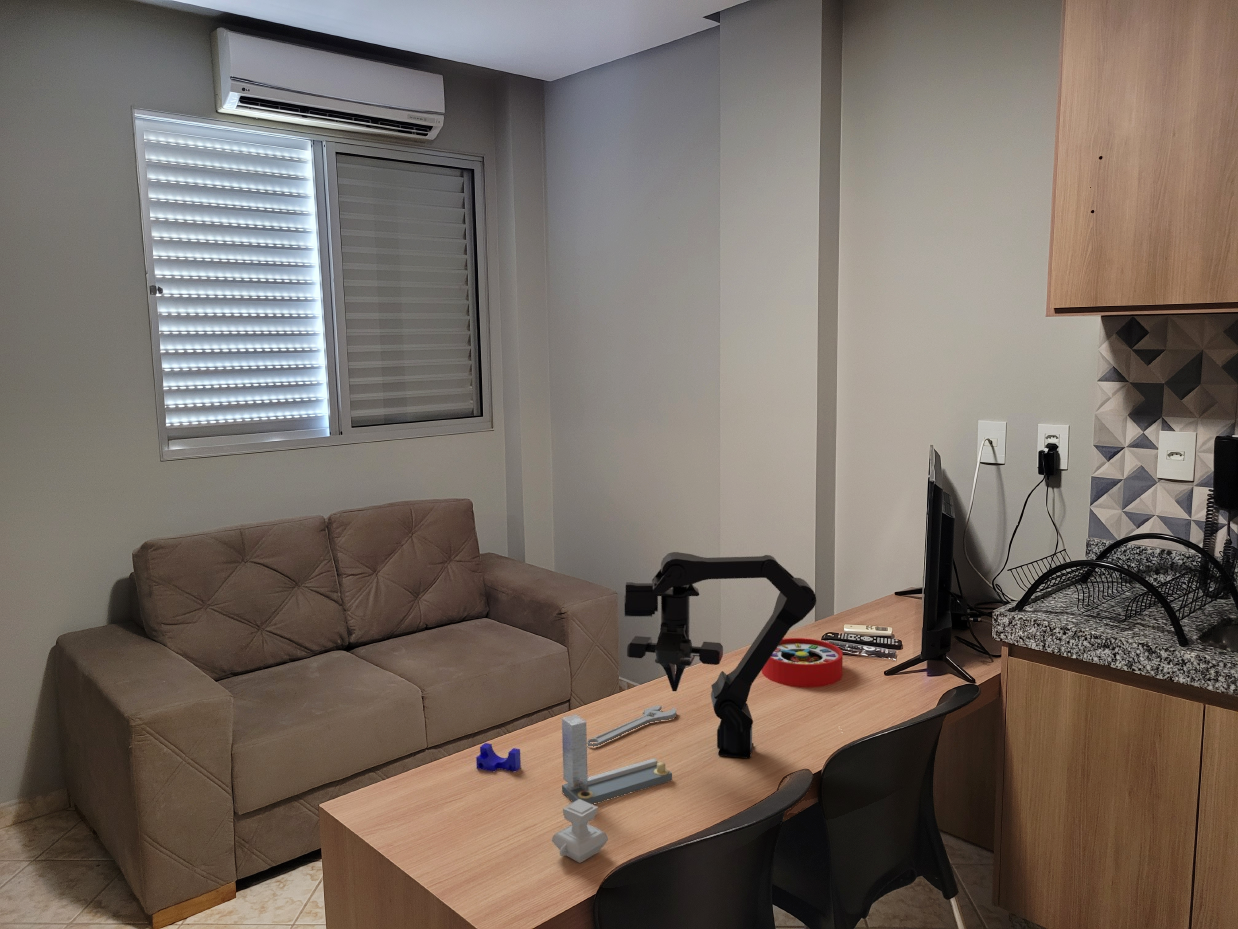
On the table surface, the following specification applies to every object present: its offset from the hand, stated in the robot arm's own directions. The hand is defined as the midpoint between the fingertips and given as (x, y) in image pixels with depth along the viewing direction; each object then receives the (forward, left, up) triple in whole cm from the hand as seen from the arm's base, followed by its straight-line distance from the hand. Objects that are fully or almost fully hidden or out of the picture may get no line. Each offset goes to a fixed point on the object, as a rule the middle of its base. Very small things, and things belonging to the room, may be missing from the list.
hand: (674, 690), depth 181 cm
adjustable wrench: (+12, -9, -14) cm, 20 cm away
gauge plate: (+8, +17, -13) cm, 23 cm away
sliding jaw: (+14, +22, -11) cm, 28 cm away
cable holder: (+33, +15, -14) cm, 38 cm away
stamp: (+8, +40, -13) cm, 43 cm away
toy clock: (-22, -50, -14) cm, 57 cm away
